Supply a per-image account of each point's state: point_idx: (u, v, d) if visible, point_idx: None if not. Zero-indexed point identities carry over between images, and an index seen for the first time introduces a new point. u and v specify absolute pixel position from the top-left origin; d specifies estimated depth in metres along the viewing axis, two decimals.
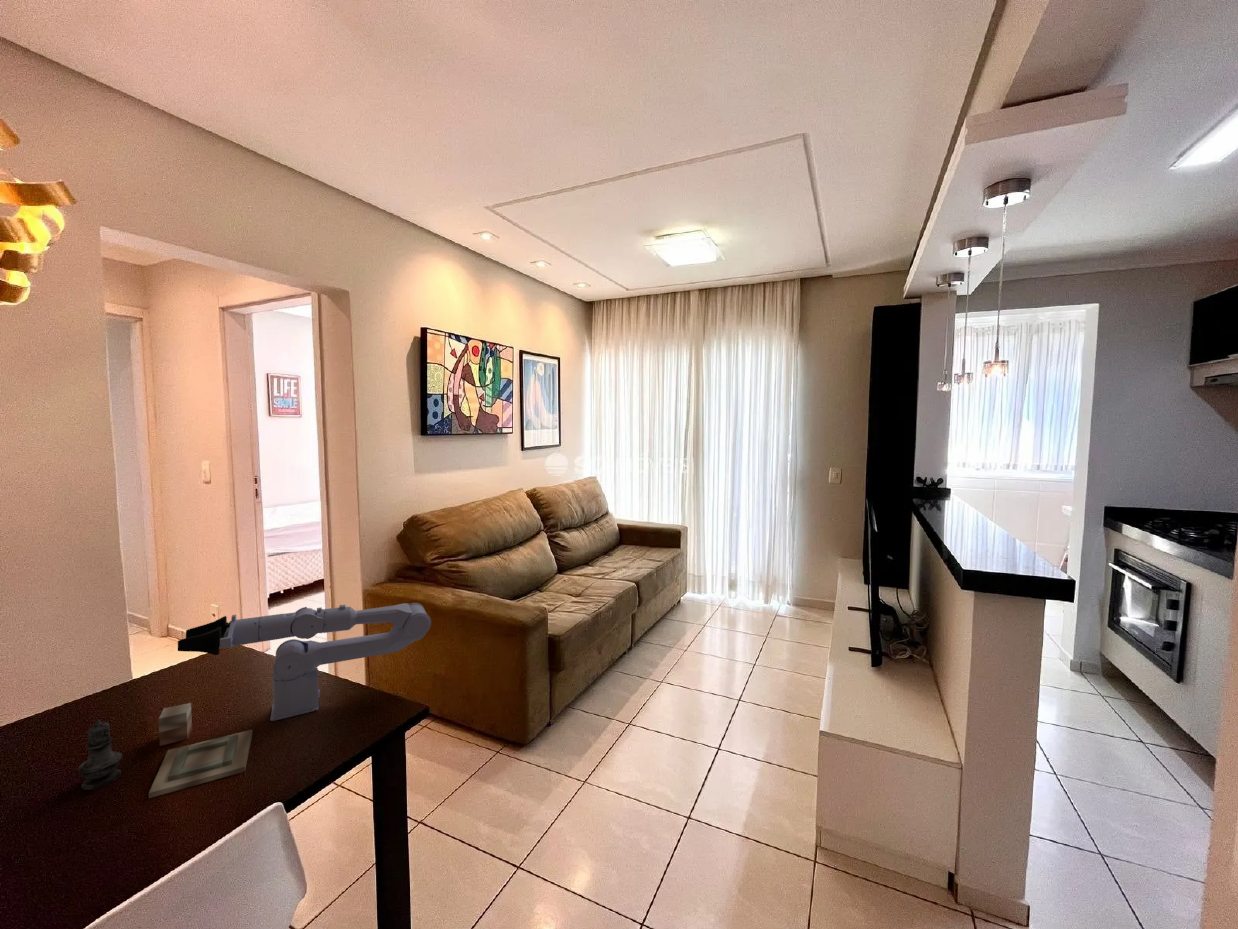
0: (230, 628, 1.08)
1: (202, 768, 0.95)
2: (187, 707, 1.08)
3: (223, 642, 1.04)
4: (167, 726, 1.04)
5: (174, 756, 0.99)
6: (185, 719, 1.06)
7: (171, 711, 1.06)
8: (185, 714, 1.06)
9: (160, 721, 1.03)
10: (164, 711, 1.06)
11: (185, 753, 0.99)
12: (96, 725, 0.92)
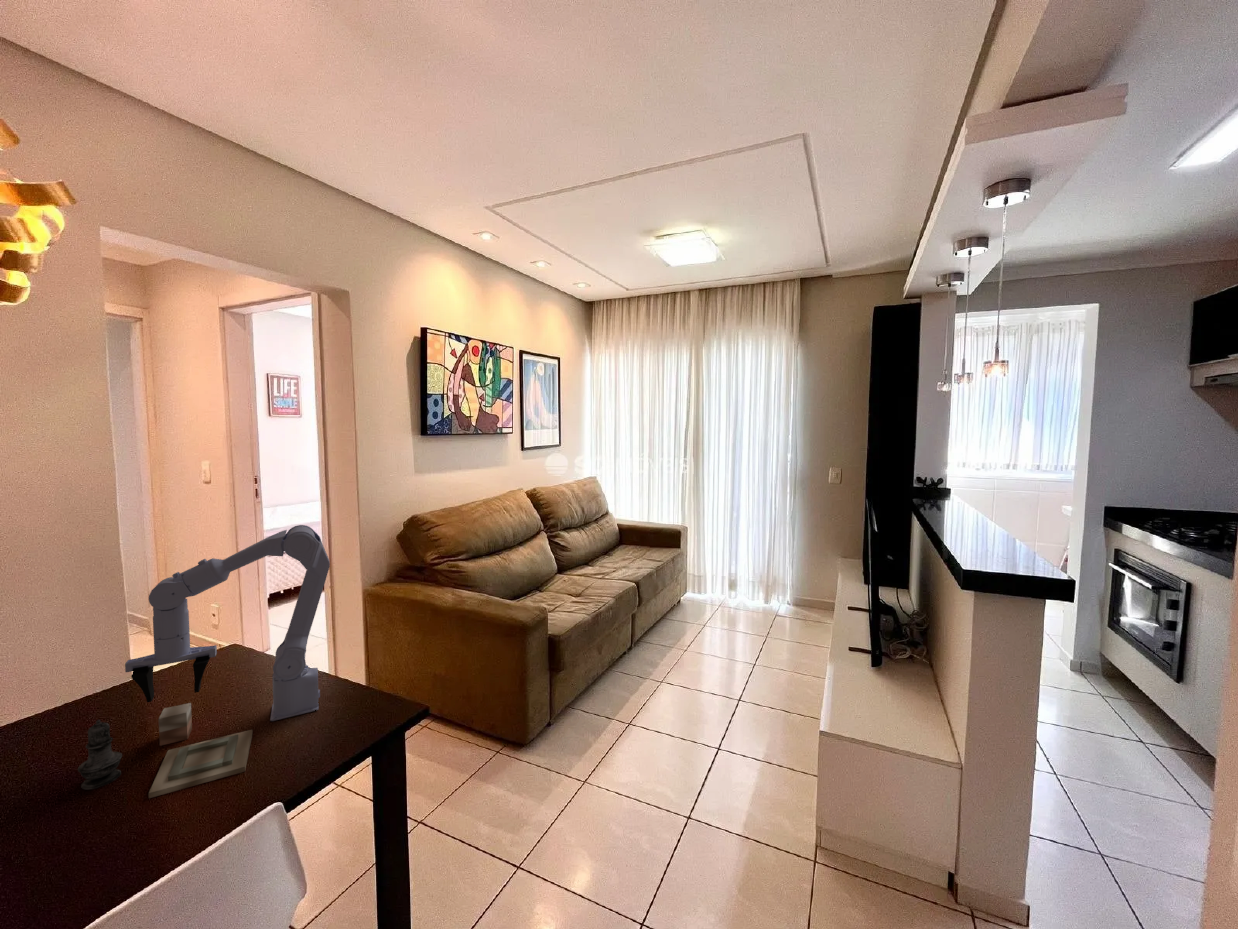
0: None
1: (202, 768, 0.95)
2: (187, 707, 1.08)
3: None
4: (167, 726, 1.04)
5: (174, 756, 0.99)
6: (185, 719, 1.06)
7: (171, 711, 1.06)
8: (185, 714, 1.06)
9: (160, 721, 1.03)
10: (164, 711, 1.06)
11: (185, 753, 0.99)
12: (96, 725, 0.92)
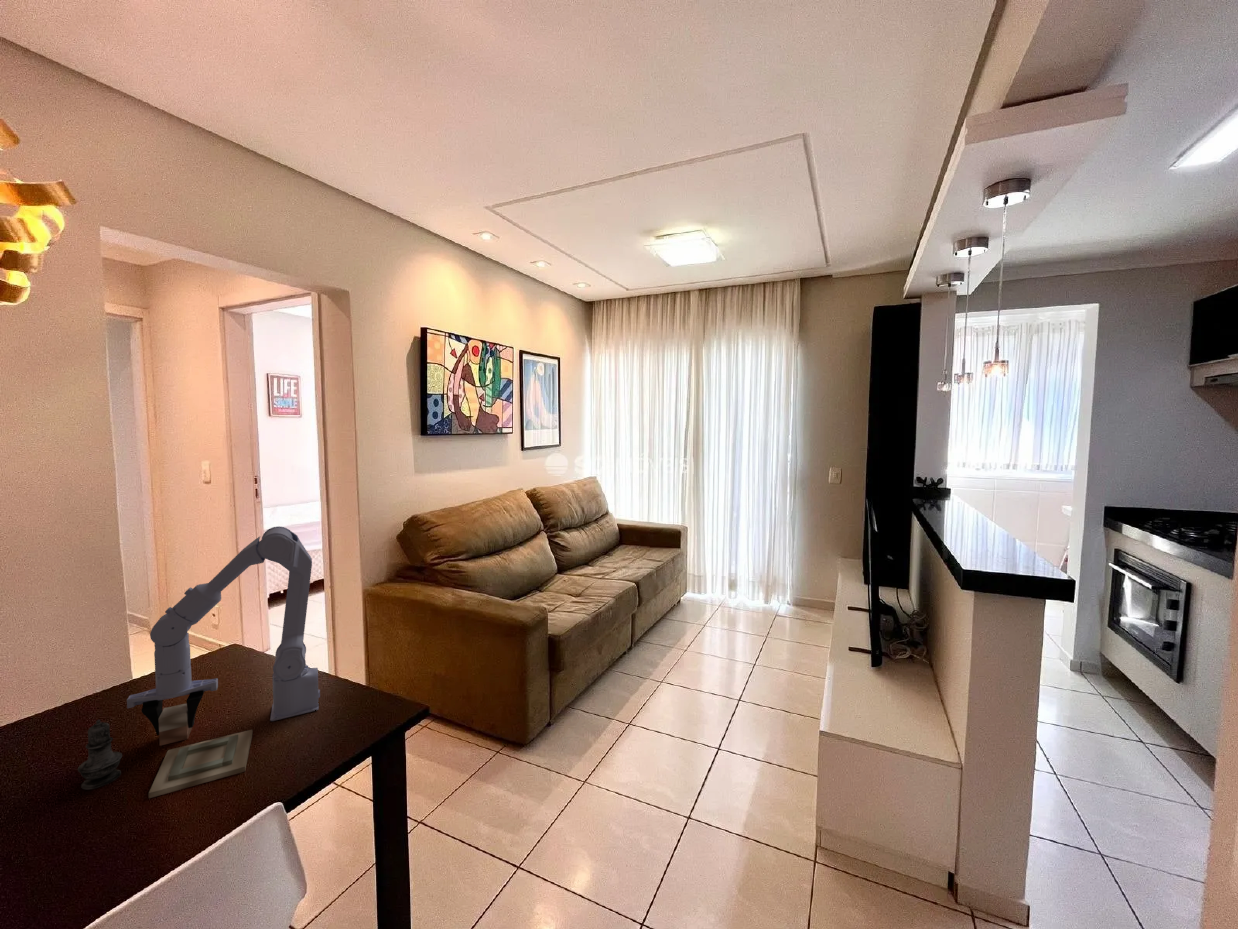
0: None
1: (202, 768, 0.95)
2: None
3: None
4: (167, 726, 1.04)
5: (174, 756, 0.99)
6: (185, 719, 1.06)
7: (171, 711, 1.06)
8: (185, 714, 1.06)
9: (160, 721, 1.03)
10: (164, 711, 1.06)
11: (185, 753, 0.99)
12: (96, 725, 0.92)
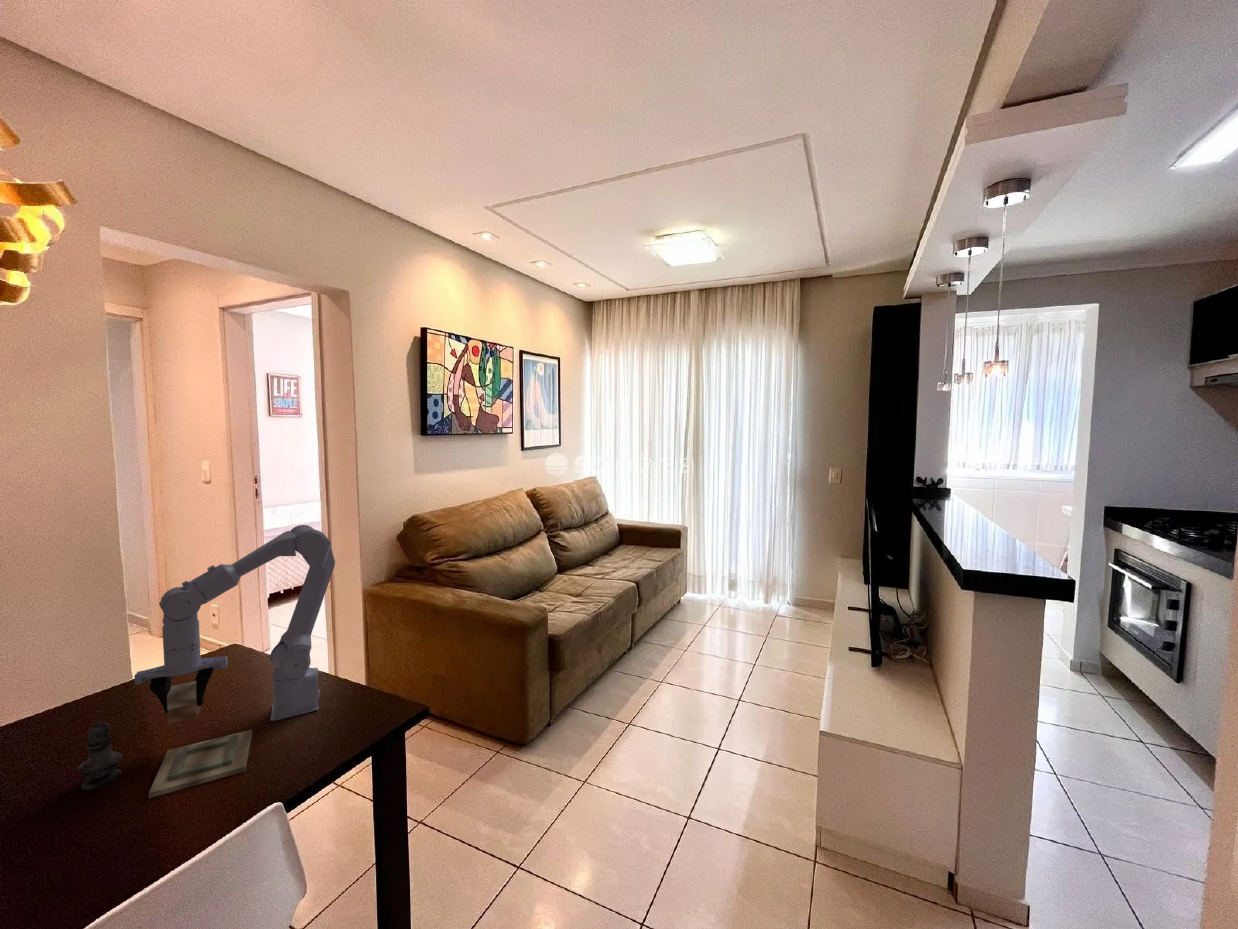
0: None
1: (202, 768, 0.95)
2: (196, 685, 1.04)
3: None
4: (176, 703, 1.01)
5: (174, 756, 0.99)
6: (194, 697, 1.02)
7: (180, 688, 1.03)
8: (194, 691, 1.02)
9: (168, 698, 1.00)
10: (172, 688, 1.03)
11: (185, 753, 0.99)
12: (96, 725, 0.92)
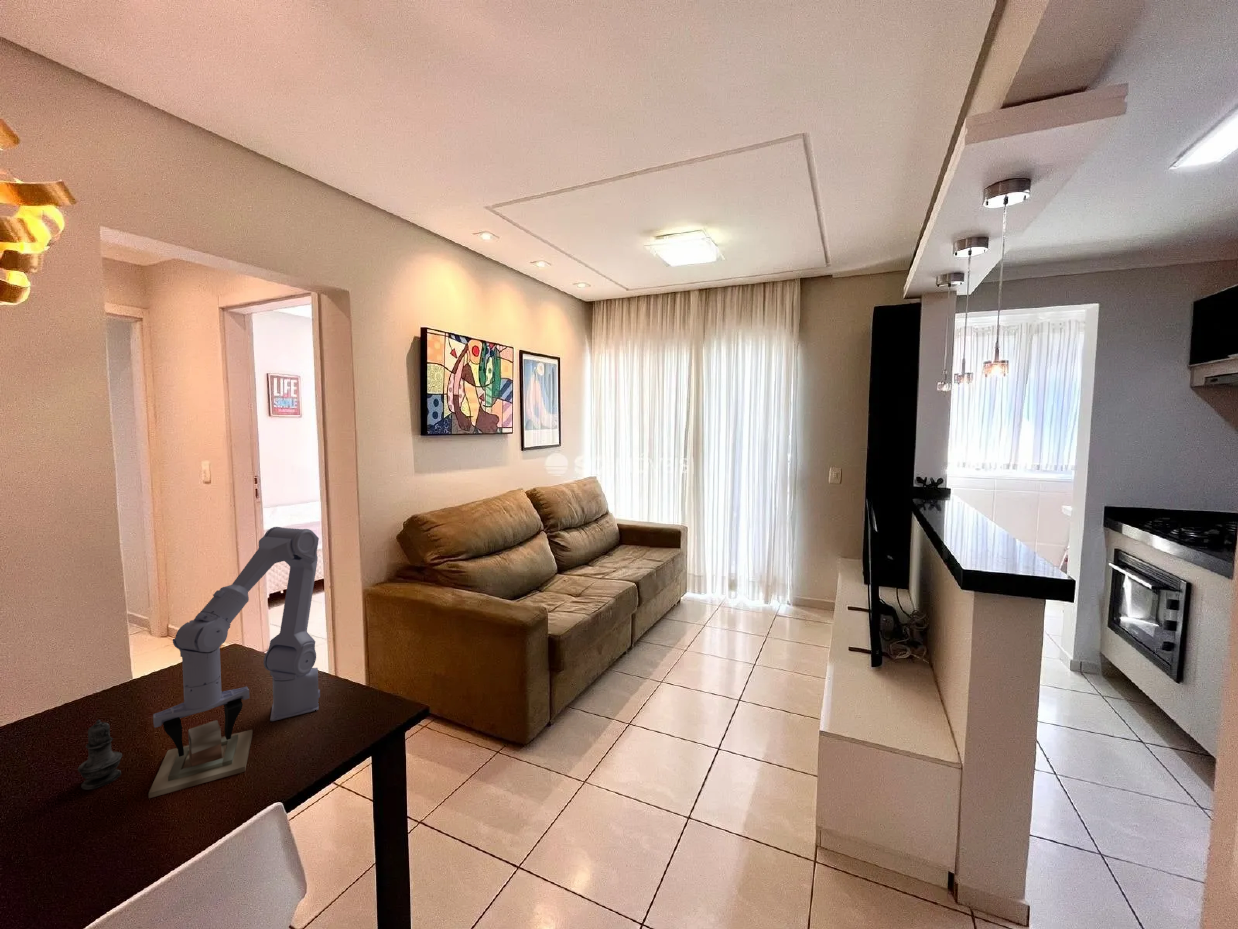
0: None
1: (202, 768, 0.95)
2: (217, 724, 1.00)
3: (153, 722, 0.93)
4: (200, 746, 0.96)
5: (174, 756, 0.99)
6: (219, 736, 0.98)
7: (201, 730, 0.98)
8: (219, 731, 0.98)
9: (193, 741, 0.95)
10: (191, 731, 0.97)
11: (185, 753, 0.99)
12: (96, 725, 0.92)
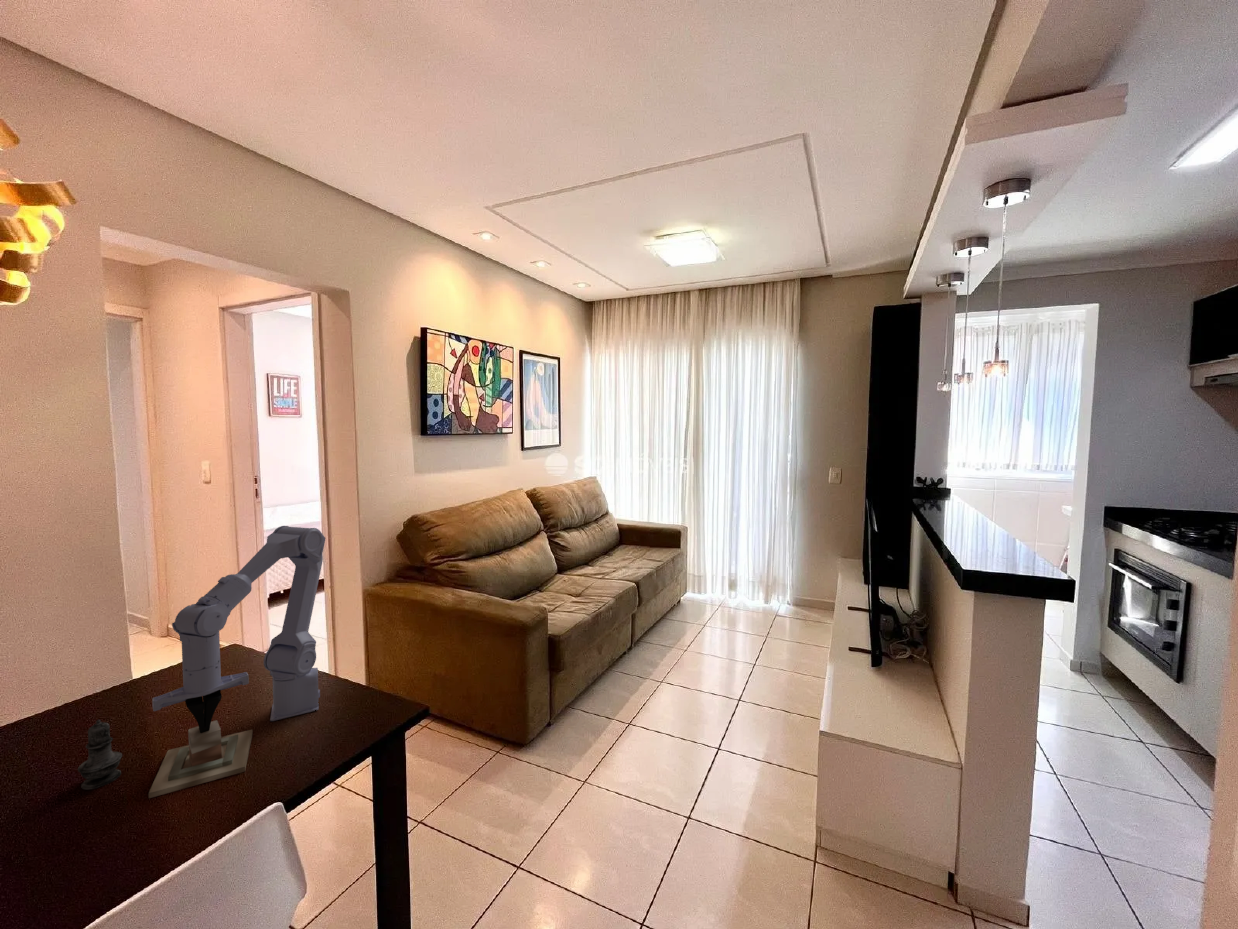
0: None
1: (202, 768, 0.95)
2: (217, 724, 1.00)
3: None
4: (200, 746, 0.96)
5: (174, 756, 0.99)
6: (219, 736, 0.98)
7: None
8: (219, 731, 0.98)
9: (193, 742, 0.95)
10: (191, 732, 0.97)
11: (185, 753, 0.99)
12: (96, 725, 0.92)
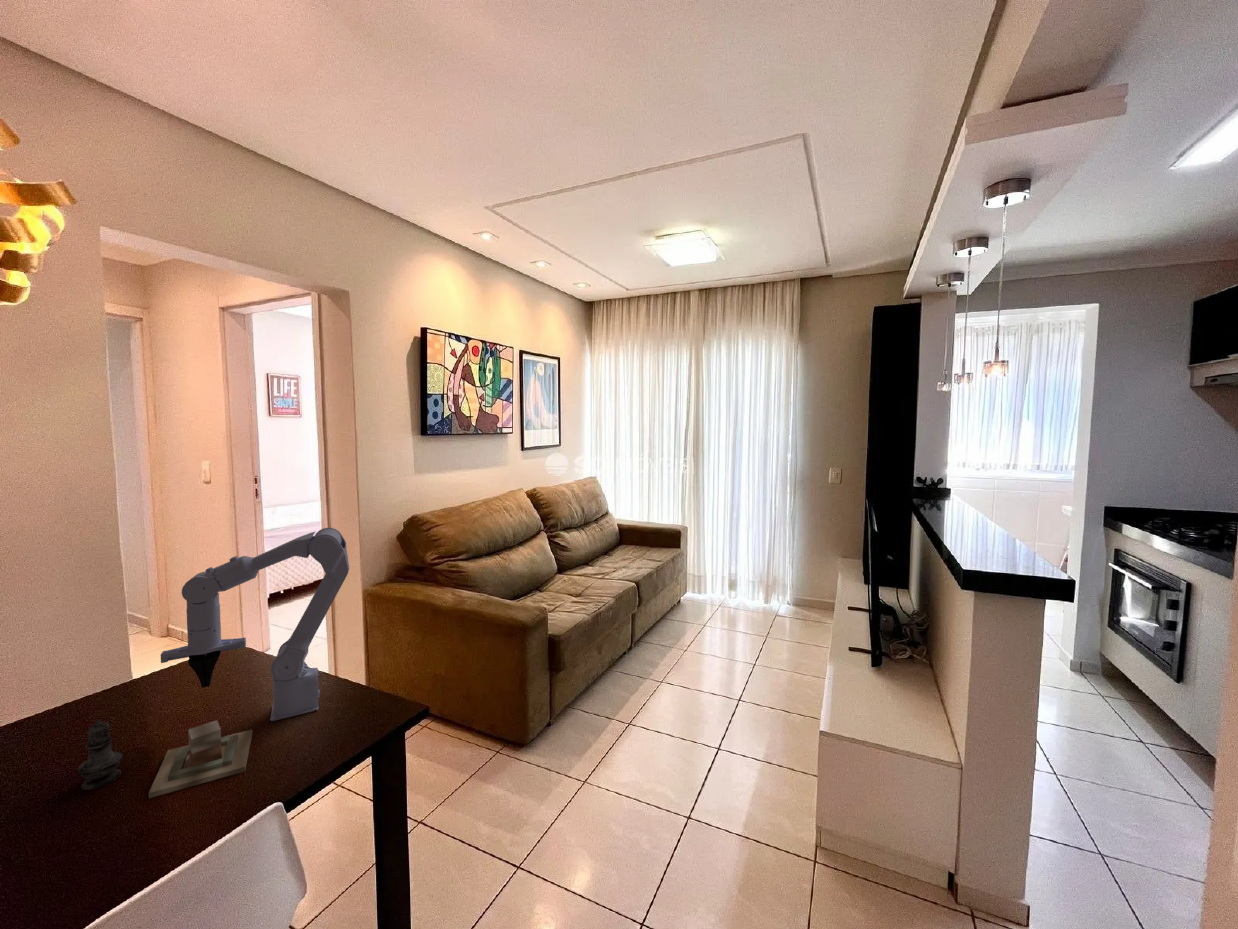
0: None
1: (202, 768, 0.95)
2: (217, 724, 1.00)
3: None
4: (200, 746, 0.96)
5: (174, 756, 0.99)
6: (219, 736, 0.98)
7: (201, 730, 0.98)
8: (219, 731, 0.98)
9: (193, 741, 0.95)
10: (191, 731, 0.97)
11: (185, 753, 0.99)
12: (96, 725, 0.92)
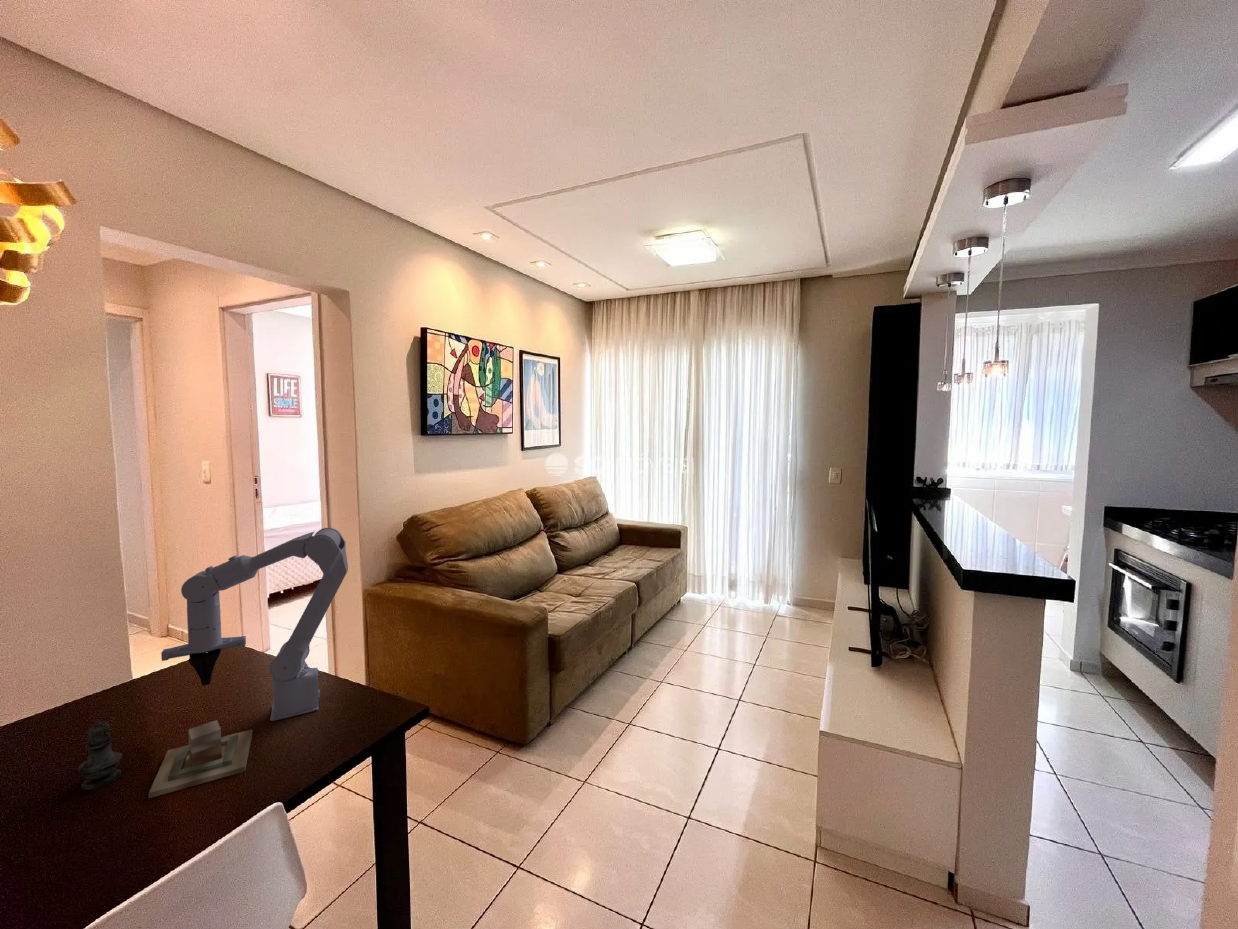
0: None
1: (202, 768, 0.95)
2: (217, 724, 1.00)
3: None
4: (200, 746, 0.96)
5: (174, 756, 0.99)
6: (219, 736, 0.98)
7: (201, 730, 0.98)
8: (219, 731, 0.98)
9: (193, 741, 0.95)
10: (191, 731, 0.97)
11: (185, 753, 0.99)
12: (96, 725, 0.92)
